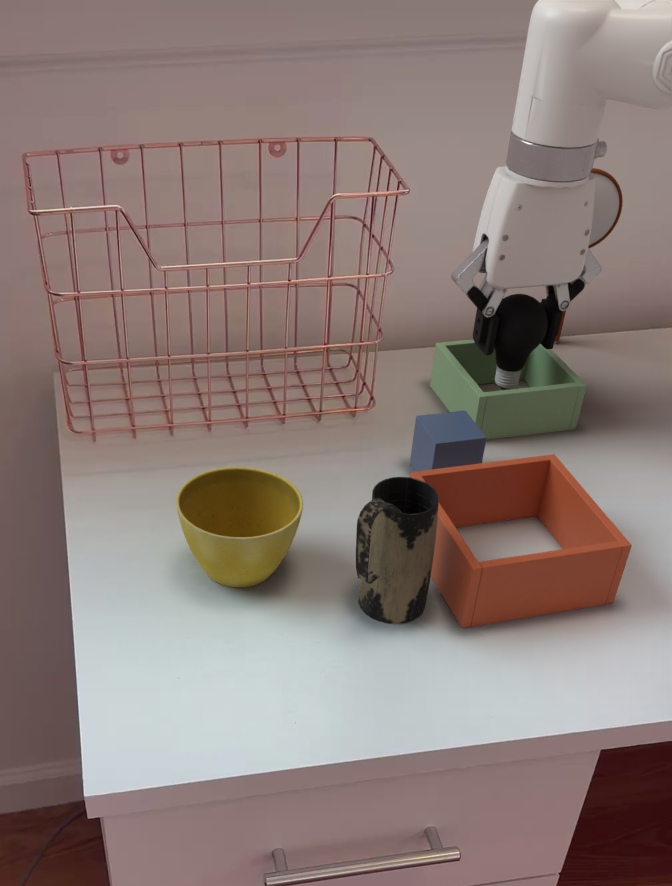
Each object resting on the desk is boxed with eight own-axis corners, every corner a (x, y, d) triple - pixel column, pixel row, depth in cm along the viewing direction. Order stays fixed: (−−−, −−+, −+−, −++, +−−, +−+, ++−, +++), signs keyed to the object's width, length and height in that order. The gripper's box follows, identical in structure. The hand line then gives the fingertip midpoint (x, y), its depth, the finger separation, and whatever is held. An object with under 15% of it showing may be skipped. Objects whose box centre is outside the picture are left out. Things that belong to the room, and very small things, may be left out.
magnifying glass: (585, 343, 122) (628, 165, 108) (590, 350, 120) (634, 171, 107) (514, 344, 120) (549, 165, 107) (518, 351, 119) (554, 171, 106)
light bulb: (540, 385, 108) (560, 292, 101) (522, 409, 104) (542, 314, 97) (488, 370, 110) (504, 279, 103) (468, 393, 106) (484, 300, 99)
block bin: (539, 515, 95) (554, 453, 90) (611, 608, 85) (632, 545, 81) (401, 535, 91) (409, 471, 87) (460, 634, 82) (473, 569, 77)
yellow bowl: (279, 527, 91) (281, 458, 87) (315, 598, 84) (320, 527, 80) (167, 545, 89) (163, 475, 84) (195, 619, 82) (193, 547, 77)
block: (456, 464, 100) (465, 410, 96) (476, 493, 97) (487, 437, 93) (408, 470, 99) (415, 415, 95) (427, 499, 96) (435, 443, 92)
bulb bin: (526, 380, 114) (536, 333, 110) (574, 434, 106) (587, 385, 102) (428, 390, 111) (435, 342, 107) (471, 447, 103) (479, 396, 99)
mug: (385, 576, 87) (400, 454, 79) (439, 606, 84) (460, 482, 76) (325, 621, 82) (335, 497, 74) (380, 654, 80) (396, 528, 72)
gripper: (615, 140, 96) (572, 323, 108) (444, 147, 92) (419, 336, 104) (656, 167, 91) (607, 355, 103) (477, 176, 87) (447, 371, 99)
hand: (513, 344), depth 103 cm, fingers closed on light bulb, 5 cm apart
